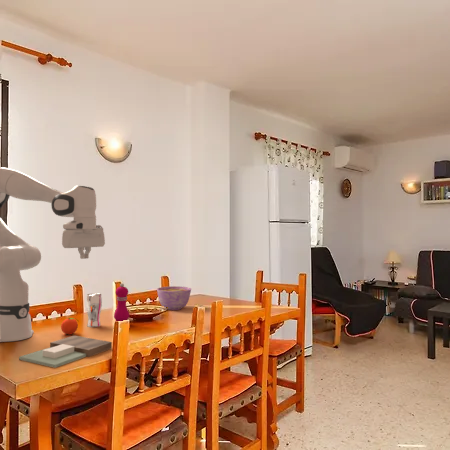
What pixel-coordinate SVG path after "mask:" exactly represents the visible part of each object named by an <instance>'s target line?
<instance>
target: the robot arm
mask: <svg viewBox="0 0 450 450" xmlns="http://www.w3.org/2000/svg"><path fill="white" fill-rule="evenodd" d="M10 197H12V198H14V199H19V200H23V201H35V202H36V201H37V202H44V203H45V202H46V203H49V204H51V205H50V206H51V210H52V211H53V213H54V215H56V216H58V217H63V218H64V217H65V218H73V220H70V221H68V222H65V223H63V225H62V227H63V228H62V229H64V230H63V231H62V234H61V235H62V236H61V244H62V247H63V248H64V249H77V250H78V253H79V257H80V259H81V260H83V259H86V260H87V259H89V258H90V257H89V255H90V253H91V250H92V248H100V247H105V244H106V239H105V232H104V228H103V226H102V225H100V224H98V225H97V216H96V209H97V194H96V191H95V189H94V188H93V187H90V186H85V185H81V184H79V185H75V186H74V187H73V188H72V189H70V190H68V191H66V192H62V191H61V190H57V189H54V188H53V187H50V186H49V185H46V184H44V183H43V182H40V181H38V180H37V179H35V178H33V177H31V176H30V175H27V174H25V173H23V172H21V171H19V170H15V169H12V168H9V167H0V209H2V208H3V206H4V205H5V204H6V203H7V202H8V201H9V199H10ZM39 249H40V248H38V247H36V246H34V245H32V244H29V243H28V242H26V241H25V240H23V239H22V238H21V237H19V236H18V235H17V234H16V233H14V231H12V230H11V229H10V228H9V226H8V225H7V224H6V223H5V221H4V220H3V219H2V217H0V343H3V342H4V343H6V342H7V343H8V342H17V341H23V340H26V339H29V338H31V337H32V336H33V334H34V330H33V329H32V319H31V318H32V317H31V314H30V303H29V285H28V283H27V282H26V281H24V280H23V277H22V276H21V271H26V270H30V269H33V268H36V266H38V265H39V264H40V263H41V261H42V253H41V251H40V250H39Z"/></svg>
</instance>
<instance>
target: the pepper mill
mask: <svg viewBox="0 0 450 450" xmlns="http://www.w3.org/2000/svg"><path fill="white" fill-rule="evenodd" d="M128 294H129V289H128V288H127V287H126V286H125V284H124V283H123V282H122V283H120V284H119V286H118V287H117V288H116V290H115V295H116V301H117V306H116V309H115V311H114V314H113V318H114V323H115V322H116V321H123V320H128V319H129V318H130V312H129V310H128V307H127V300H128V296H127V295H128Z"/></svg>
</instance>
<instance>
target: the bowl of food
mask: <svg viewBox="0 0 450 450" xmlns="http://www.w3.org/2000/svg"><path fill="white" fill-rule="evenodd" d="M156 291H157V296H158V297H157V298H158V300H159V303H160V305H161V307H163V306H164V307H163V308H165V307H168V309H167V310H168V311H169V310H170V311H176V310H177V311H178V310H181V309H183V308H184V307H186V306H187V304H188V303H189V300H190V297H191V292H192V288H191V287H189V286H174V285H173V286H162V287H158V288H156Z"/></svg>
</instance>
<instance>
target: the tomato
mask: <svg viewBox="0 0 450 450" xmlns="http://www.w3.org/2000/svg"><path fill="white" fill-rule="evenodd" d="M78 323H79V320H77V319H76V318H74V317H69V318H66V319H64V320H63V321H62V322H61V324H60V328H61V329H60V330H61V331H62V332H63V333H64V334H65V335H73V334H74V333H76V331H77V330H78V325H79V324H78Z"/></svg>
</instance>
